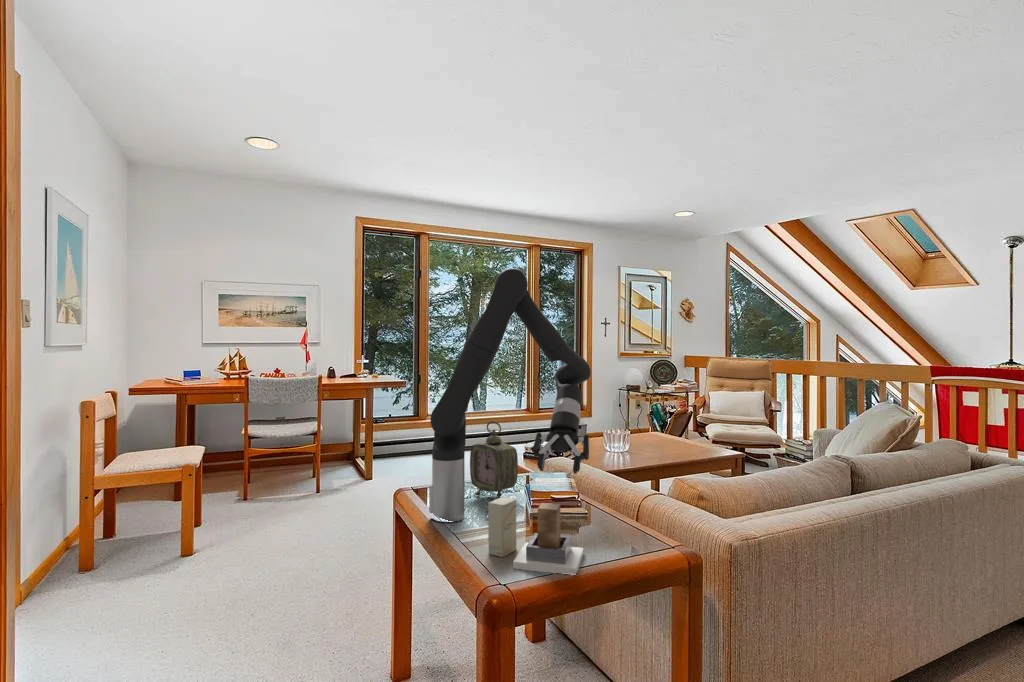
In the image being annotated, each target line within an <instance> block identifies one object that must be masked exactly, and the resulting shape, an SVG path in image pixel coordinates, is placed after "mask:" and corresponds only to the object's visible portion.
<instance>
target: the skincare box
mask: <svg viewBox="0 0 1024 682" xmlns="http://www.w3.org/2000/svg"><path fill="white" fill-rule="evenodd" d="M487 504H488V516H487V518H488V529H487V531H488V536H487V537H488V554H489V555H493V556H497V557H500V558H504V557H506V556H508V555H509V554H511V553H512V552H514V551H516V550H517V499H515V498H510V497H504V496H501V497H500V498H498V497H497V498H496V499H493V500H491V501H489V502H488V503H487Z"/></svg>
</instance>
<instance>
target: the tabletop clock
mask: <svg viewBox="0 0 1024 682" xmlns="http://www.w3.org/2000/svg"><path fill="white" fill-rule="evenodd" d="M490 424H495V425H496V426H498V427H499V431H497V432H496V430H495V429H492V431H491V430H490V429H489V425H490ZM486 430H487V432H488V433H489V434H490V435H489V436H488V437H487V438H486V440H485V442H482V443H481V442H480V443H475V444H472V446H471V448H470V453H469V454H470V455H469V469H470V470H469V474H470V481H471V484H472V485H473V486H474V487H476V488H477V489H479V490H477V491H475V493H474V494H475V496H476V495H481V492H482V491H484V492H485V491H486V492H490V493H495V492H497V493H496V497H497V496H498V497H497V499H498V498H501V497H502V491H503V490H506V489H507V490H508V489H511V488H514V487H515V485H516V483H517V481H518V476H519V475H518V473H519V472H518V471H519V470H518V469H519V460H518V451H517V448H515V447H514V446H513V445H510V444H508V443H505V442H502V438H501V437H500V435H499V434H501V431H502V426H501V425H500V422H497V421H495V420H490V421H488V423H487V425H486ZM500 496H501V497H500Z"/></svg>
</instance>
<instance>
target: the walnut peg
mask: <svg viewBox="0 0 1024 682" xmlns="http://www.w3.org/2000/svg"><path fill="white" fill-rule="evenodd" d="M537 533H538V546H542V547H552V548H560V535H561V504H560V503H549V502H547V503H546V502H541V504H539V506H538V508H537Z"/></svg>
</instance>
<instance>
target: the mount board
mask: <svg viewBox="0 0 1024 682" xmlns="http://www.w3.org/2000/svg"><path fill="white" fill-rule="evenodd" d="M572 538H573V537H572V536H569V535H561V534H560V548H552V547H542V546H538V532H534V533H533V535H532V537H531V539H530V540H529V542H528V541H526V542H525V543H524V545H523V546H522V547H521V549H520V550H519V552H518V554H517V555H516V557H515V558H514V559H513V561H512V569H514V570H522V571H531V572H539V573H540V572H541V573H547V572H550V573H549V574H556V573H569V574H571V573H572V574H576V573H577V574H578V572H577V571H579V569H580V566H581V563H582V561H583V557H584V555H585V553H584V552H585V551H584V547H577V546H572V545H573V544H572V543H573V540H572ZM551 572H552V573H551Z"/></svg>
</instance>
